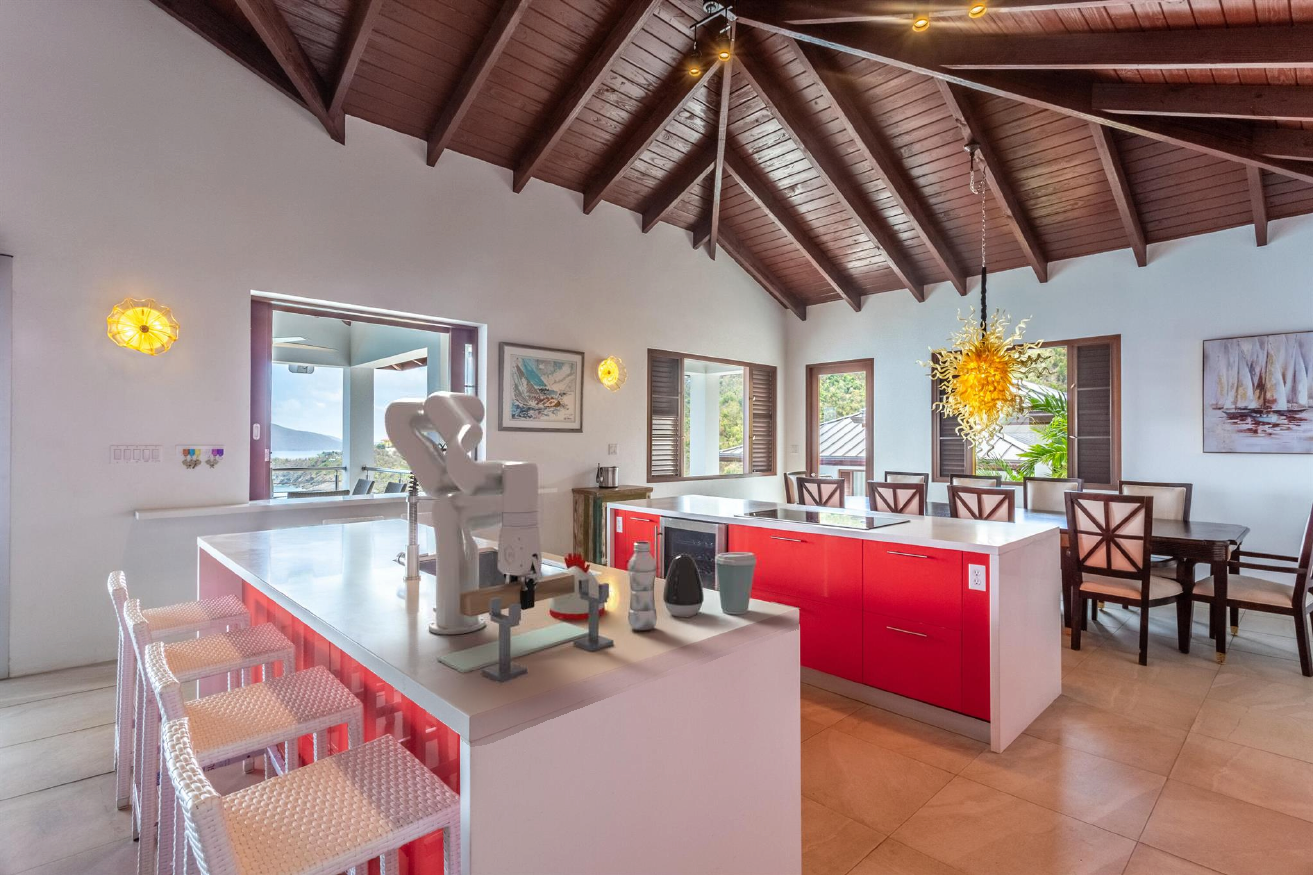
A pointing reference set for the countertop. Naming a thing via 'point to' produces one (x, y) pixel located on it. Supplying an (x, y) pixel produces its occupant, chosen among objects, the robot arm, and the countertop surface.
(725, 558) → the disposable coffee cup
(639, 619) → the plastic bottle
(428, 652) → the countertop surface
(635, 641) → the countertop surface
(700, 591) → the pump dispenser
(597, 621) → the hook standards
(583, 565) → the kitchen timer
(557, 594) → the rail
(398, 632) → the countertop surface
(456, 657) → the mat
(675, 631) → the countertop surface
